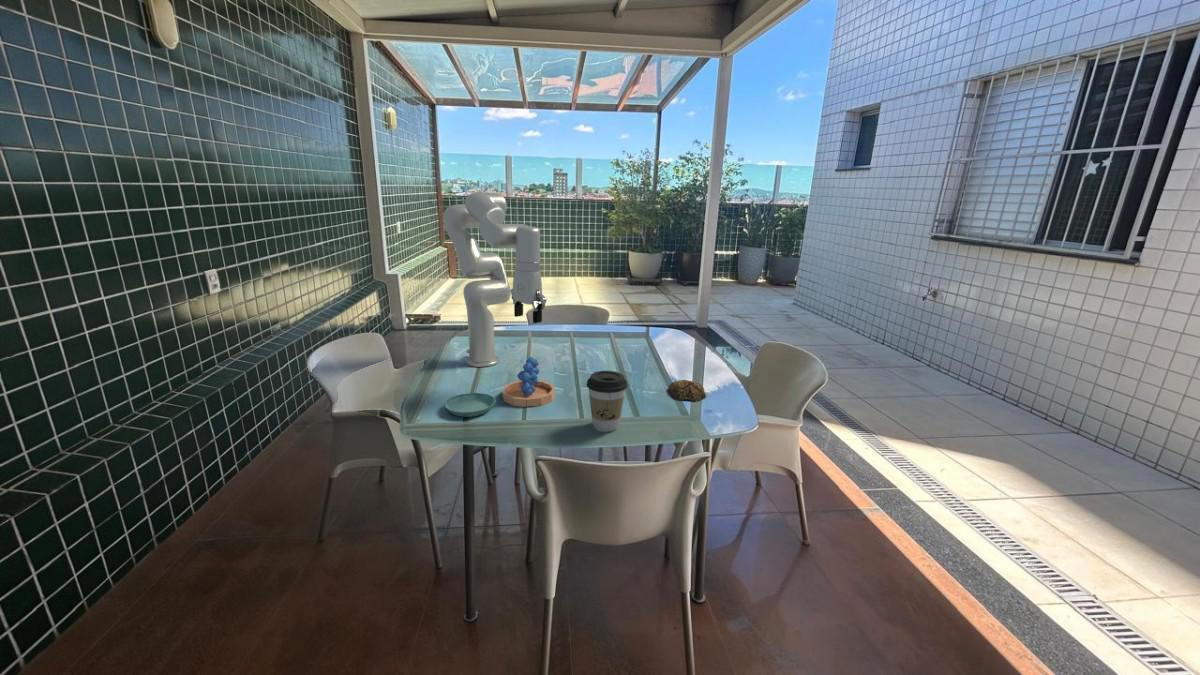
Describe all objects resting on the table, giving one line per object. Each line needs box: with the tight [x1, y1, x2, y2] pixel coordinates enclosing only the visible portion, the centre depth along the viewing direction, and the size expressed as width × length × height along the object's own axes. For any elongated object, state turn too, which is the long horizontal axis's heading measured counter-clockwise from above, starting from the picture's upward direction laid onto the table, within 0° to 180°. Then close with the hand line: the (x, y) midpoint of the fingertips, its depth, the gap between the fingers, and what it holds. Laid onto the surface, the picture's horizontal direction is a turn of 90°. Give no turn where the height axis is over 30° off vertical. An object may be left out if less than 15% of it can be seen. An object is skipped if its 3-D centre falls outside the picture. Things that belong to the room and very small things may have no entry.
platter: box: [502, 379, 556, 408], centre depth 156 cm, size 16×16×2 cm
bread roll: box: [667, 379, 707, 402], centre depth 160 cm, size 13×12×5 cm
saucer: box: [444, 392, 496, 418], centre depth 145 cm, size 15×15×3 cm
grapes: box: [517, 356, 541, 397], centre depth 154 cm, size 12×7×12 cm, turn 168°
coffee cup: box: [586, 370, 629, 433], centre depth 134 cm, size 11×11×15 cm
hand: (527, 319), depth 158 cm, fingers open, 9 cm apart
